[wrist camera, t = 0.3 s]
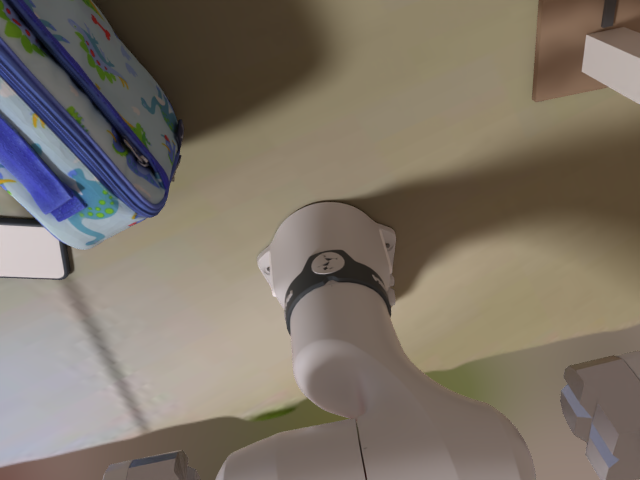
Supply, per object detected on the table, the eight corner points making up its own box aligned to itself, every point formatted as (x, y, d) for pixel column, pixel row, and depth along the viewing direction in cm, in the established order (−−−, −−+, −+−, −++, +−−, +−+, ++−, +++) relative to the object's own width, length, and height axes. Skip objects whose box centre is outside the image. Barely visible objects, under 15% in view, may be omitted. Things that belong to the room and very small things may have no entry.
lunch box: (203, 130, 57) (179, 233, 40) (127, 174, 59) (73, 289, 42) (22, -119, 43) (-135, -124, 26) (-69, -49, 45) (-269, -12, 28)
